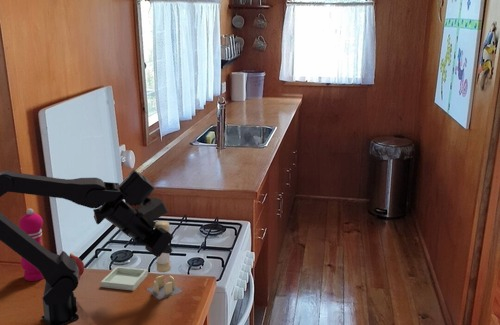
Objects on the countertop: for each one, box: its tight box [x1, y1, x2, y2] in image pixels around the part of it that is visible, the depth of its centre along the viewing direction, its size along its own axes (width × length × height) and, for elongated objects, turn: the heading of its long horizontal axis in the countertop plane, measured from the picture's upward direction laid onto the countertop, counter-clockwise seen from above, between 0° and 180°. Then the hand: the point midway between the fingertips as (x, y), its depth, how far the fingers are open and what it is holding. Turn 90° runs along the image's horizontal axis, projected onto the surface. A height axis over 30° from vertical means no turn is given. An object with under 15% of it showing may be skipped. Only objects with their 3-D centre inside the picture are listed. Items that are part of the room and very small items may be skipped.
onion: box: [68, 252, 85, 278], centre depth 135 cm, size 6×6×8 cm
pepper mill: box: [18, 208, 45, 282], centre depth 136 cm, size 7×7×20 cm
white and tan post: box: [154, 220, 172, 273], centre depth 125 cm, size 4×4×12 cm
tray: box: [100, 266, 149, 292], centre depth 133 cm, size 9×9×3 cm
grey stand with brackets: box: [146, 274, 184, 300], centre depth 127 cm, size 7×7×4 cm
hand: (167, 249), depth 126 cm, fingers closed on white and tan post, 3 cm apart
